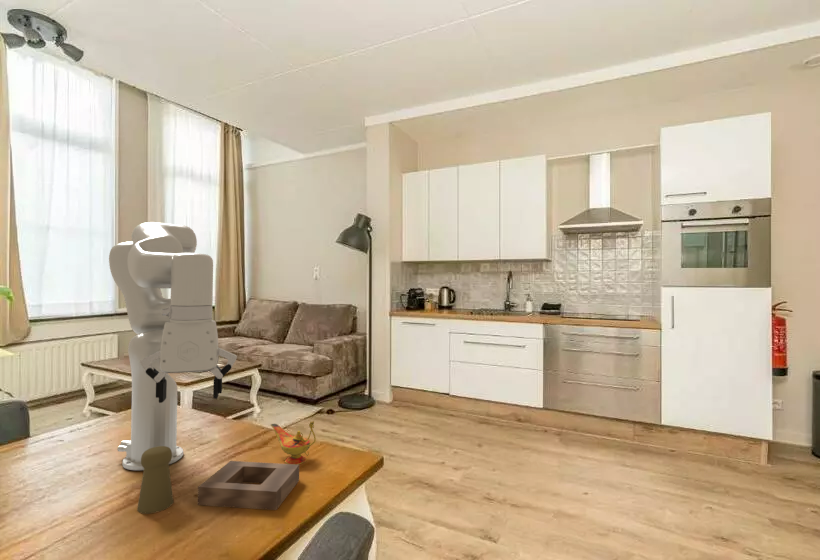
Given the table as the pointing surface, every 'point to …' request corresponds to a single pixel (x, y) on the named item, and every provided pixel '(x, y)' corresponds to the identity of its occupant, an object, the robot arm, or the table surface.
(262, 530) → the table surface
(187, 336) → the robot arm
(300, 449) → the magic lamp
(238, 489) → the shaker holder
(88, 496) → the table surface
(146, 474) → the cork
